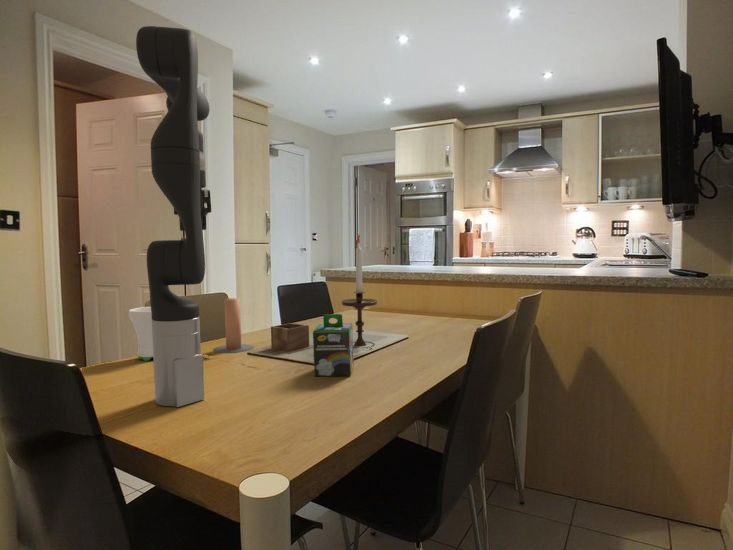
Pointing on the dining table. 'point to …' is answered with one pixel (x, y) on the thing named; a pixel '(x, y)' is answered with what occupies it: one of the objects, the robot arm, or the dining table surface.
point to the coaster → (223, 350)
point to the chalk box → (333, 347)
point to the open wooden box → (289, 338)
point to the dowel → (233, 323)
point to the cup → (143, 331)
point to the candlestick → (359, 298)
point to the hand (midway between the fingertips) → (192, 230)
